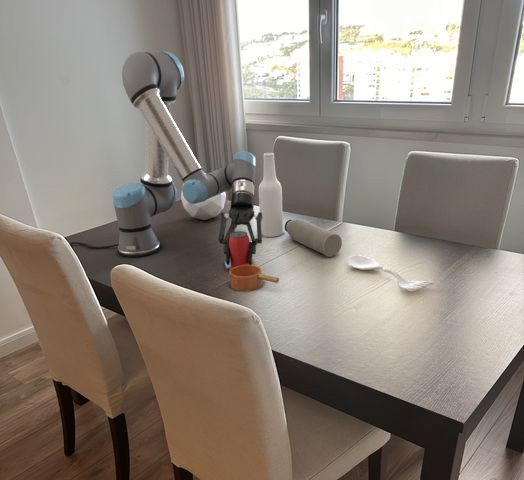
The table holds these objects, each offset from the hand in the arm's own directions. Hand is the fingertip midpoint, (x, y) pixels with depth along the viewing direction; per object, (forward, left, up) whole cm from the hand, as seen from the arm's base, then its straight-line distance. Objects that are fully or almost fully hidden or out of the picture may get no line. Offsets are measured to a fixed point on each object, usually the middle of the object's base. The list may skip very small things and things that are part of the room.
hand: (238, 262), depth 155 cm
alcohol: (-15, +41, -5) cm, 44 cm away
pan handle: (+13, -4, -2) cm, 14 cm away
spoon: (+41, +20, -5) cm, 46 cm away
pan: (+5, -4, -5) cm, 8 cm away
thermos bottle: (+18, +29, -1) cm, 35 cm away
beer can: (-2, +3, -4) cm, 5 cm away
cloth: (-7, +8, -5) cm, 11 cm away
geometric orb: (-54, +47, -5) cm, 72 cm away
